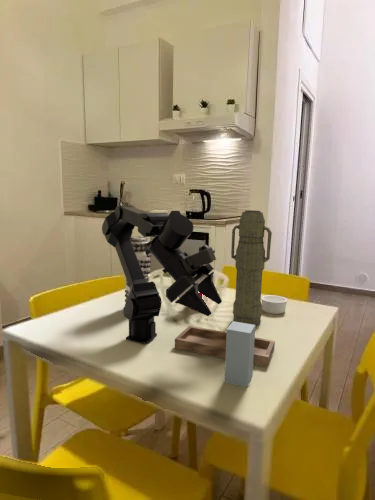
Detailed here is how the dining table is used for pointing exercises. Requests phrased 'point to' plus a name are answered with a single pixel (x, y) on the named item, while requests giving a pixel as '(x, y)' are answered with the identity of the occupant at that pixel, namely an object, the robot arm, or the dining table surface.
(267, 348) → the wooden tray
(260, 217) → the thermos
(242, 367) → the slate post
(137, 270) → the robot arm
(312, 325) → the dining table surface
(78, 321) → the dining table surface
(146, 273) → the decorative candle
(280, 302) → the ramekin
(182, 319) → the dining table surface
